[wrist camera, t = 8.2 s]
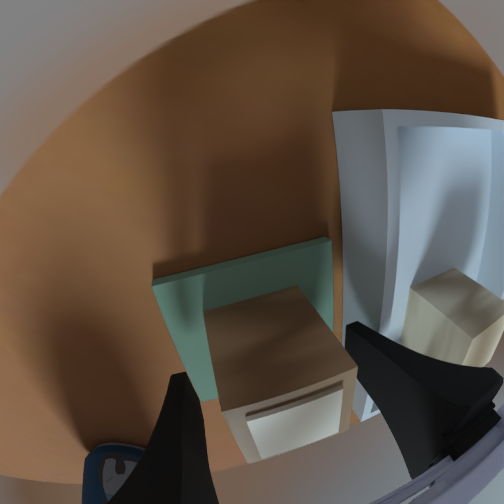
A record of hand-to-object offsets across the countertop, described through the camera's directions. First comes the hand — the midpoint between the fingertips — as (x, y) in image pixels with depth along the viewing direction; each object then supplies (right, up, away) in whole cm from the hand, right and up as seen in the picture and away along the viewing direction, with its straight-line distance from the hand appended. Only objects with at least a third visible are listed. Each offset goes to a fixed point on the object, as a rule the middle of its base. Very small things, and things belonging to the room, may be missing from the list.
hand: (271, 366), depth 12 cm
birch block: (+11, +1, +5) cm, 12 cm away
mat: (-1, +1, +2) cm, 3 cm away
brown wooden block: (-1, +1, +2) cm, 2 cm away
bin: (+10, +5, +4) cm, 12 cm away
